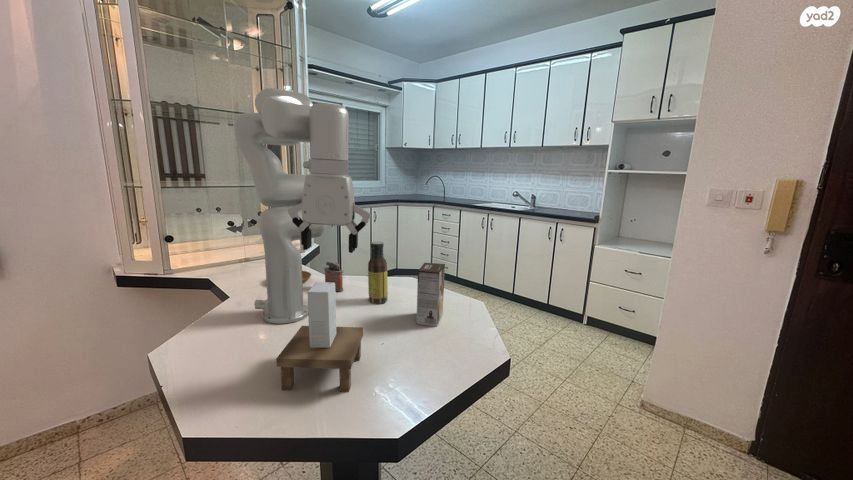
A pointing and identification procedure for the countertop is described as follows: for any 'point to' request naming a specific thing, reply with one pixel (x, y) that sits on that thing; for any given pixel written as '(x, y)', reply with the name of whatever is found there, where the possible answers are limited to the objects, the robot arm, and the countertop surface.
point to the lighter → (334, 275)
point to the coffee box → (430, 294)
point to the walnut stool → (321, 355)
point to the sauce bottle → (377, 274)
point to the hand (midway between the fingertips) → (329, 249)
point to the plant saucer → (305, 276)
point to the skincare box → (322, 314)
